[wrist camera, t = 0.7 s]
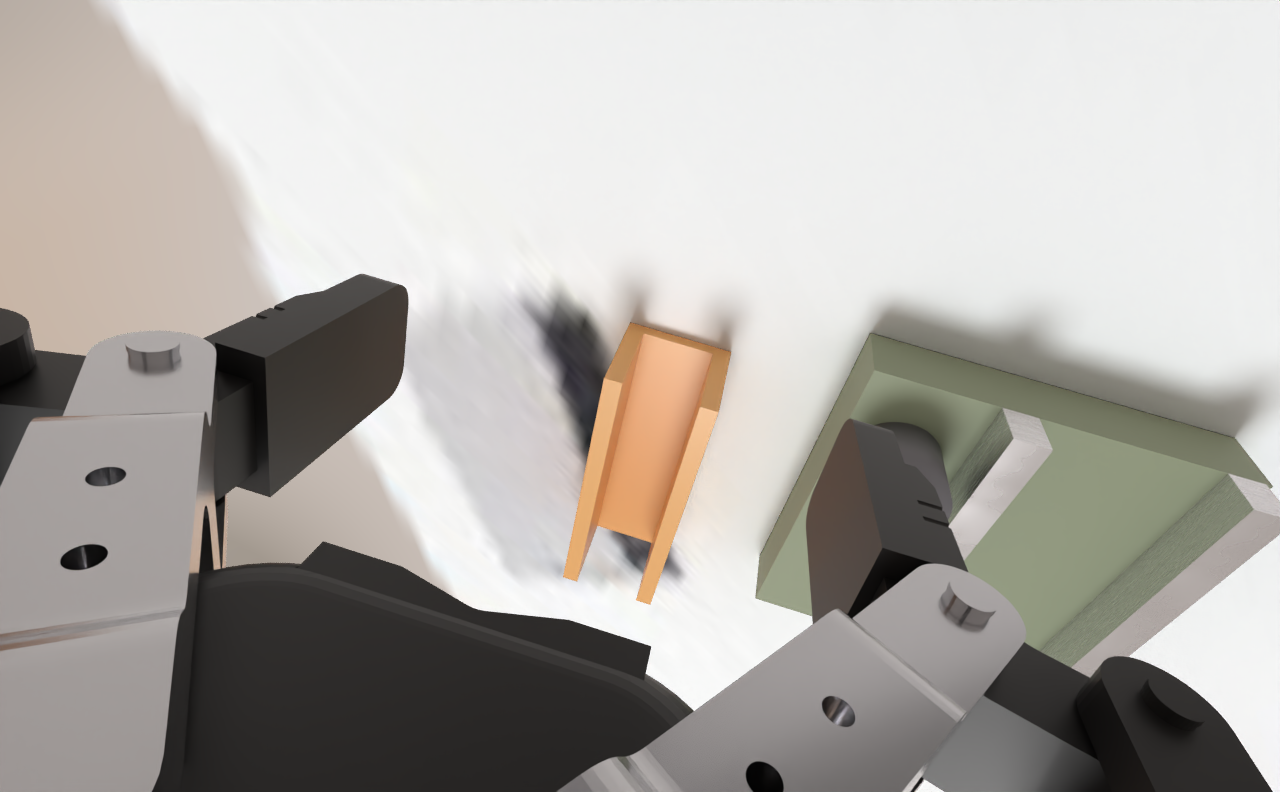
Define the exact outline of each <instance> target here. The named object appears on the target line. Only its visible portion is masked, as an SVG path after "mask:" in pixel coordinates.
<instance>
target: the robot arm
mask: <svg viewBox="0 0 1280 792" xmlns="http://www.w3.org/2000/svg"><path fill="white" fill-rule="evenodd" d="M407 315H408V293H407V290H406V288H405V287H404V286H402V285H399V284H396V283H392V282H389V281H386V280H382V279H379V278H375V277H372V276H369V275H365V274H359V275H356V276H354V277H352V278H350V279H348V280H346V281H344V282H342V283H340V284H337V285H335V286H333V287H331V288H329V289H327V290H325V291H321V292H315V293H310V294H304V295H299V296H295V297H293V298H291V299H289V300H286V301H284V302H282V303H280V304H278V305H275V307H274V309H273V308H269V309H267V310H264V311H262V312H260V313H258V314H257V315H256V317H253V316H251V317H249V318H247V319H245V320H243V321H240V322H238V323H236V324H234V325H232V326H229V327H227V328H225V329H223V330H221V331H218V332H216V333H214V334H212V335H210V336H207V337H205V338H203V339H202V338H200V337H198V336H194V335H191V334H186V333H181V332H172V331H143V332H133V333H127V334H122V335H118V336H114V337H111V338H108V339H106V340H103V341H101V342H99V343H98V344H96V345H94V346H93V347H92V348H91V349H90V350H89V352H88V353H87V355H86V356H81V355H72V354H64V353H55V352H48V351H38V350H35V349H34V344H33V339H32V334H31V330H30V325H29V322H28V321H27V319H26V318H25V317H23V316H22V315H20V314H18V313H16V312H13V311H10V310H6V309H2V308H0V792H916V791H917V790H918V788H919V787H920V786H921V784H922V783H923V782H924V780H927V781H928V782H930V783H932V784H933V785H935V786H936V787H938V788H940V789H941V790H943V791H944V792H1273V791H1272V790H1271V788H1270V787H1269V785H1268V784H1267V782H1266V781H1265V779H1264V778H1263V776H1262V775H1261V773H1260V771H1259V770H1258V768H1257V767H1256V765H1255V764H1254V762H1253V761H1252V759H1251V758H1250V756H1249V754H1248V753H1247V751H1246V750H1245V748H1244V747H1243V745H1242V744H1241V742H1240V741H1239V739H1238V738H1237V736H1236V734H1235V733H1234V731H1233V730H1232V729H1231V727H1230V726H1229V724H1228V723H1227V722H1226V721H1225V719H1224V718H1223V717H1222V716H1221V715H1220V714H1219V713H1218V711H1217V710H1216V709H1215V708H1214V707H1212V706H1211V705H1210V704H1209V703H1208V702H1207V701H1206V700H1205V699H1204V698H1203V697H1201V696H1200V695H1199V694H1198V693H1197V692H1195V691H1194V690H1193V689H1191V688H1190V687H1189V686H1187V685H1186V684H1185V683H1183V682H1182V681H1180V680H1179V679H1177V678H1176V677H1174V676H1172V675H1171V674H1169V673H1167V672H1165V671H1164V670H1162V669H1160V668H1157V667H1155V666H1153V665H1151V664H1149V663H1146V662H1144V661H1141V660H1138V659H1134V658H1130V657H1124V656H1113V657H1109V658H1107V659H1106V660H1104V661H1103V662H1102V664H1101V665H1100V666H1099V667H1098V669H1097V670H1096V671H1095V672H1094V673H1093V675H1092V676H1091V677H1088V676H1086V675H1084V674H1082V673H1080V672H1078V671H1076V670H1074V669H1073V668H1071V667H1069V666H1067V665H1065V664H1063V663H1061V662H1059V661H1057V660H1055V659H1053V658H1052V657H1050V656H1048V655H1046V654H1044V653H1042V652H1040V651H1038V650H1037V649H1035V648H1033V647H1031V646H1030V645H1028V644H1026V643H1025V642H1024V641H1025V639H1026V628H1025V625H1024V622H1023V620H1022V618H1021V616H1020V615H1019V613H1018V611H1017V610H1016V609H1015V608H1014V606H1013V605H1012V604H1011V603H1010V602H1009V601H1008V600H1007V599H1006V598H1005V597H1004V596H1003V595H1002V594H1001V593H1000V592H998V591H997V590H996V589H995V588H993V587H992V586H990V585H989V584H988V583H986V582H984V581H983V580H981V579H980V578H978V577H976V576H974V575H972V574H970V573H969V572H968V570H967V567H966V565H965V562H964V560H963V557H962V555H961V552H960V549H959V547H958V544H957V542H956V539H955V537H954V534H953V532H952V529H951V528H949V522H948V519H947V517H946V514H945V512H944V511H942V508H943V507H942V504H941V501H940V499H939V496H938V494H937V491H936V489H935V487H934V486H933V485H932V484H931V483H930V482H929V481H928V479H927V478H926V477H925V476H924V475H923V474H922V473H921V472H920V471H919V470H918V468H917V467H915V466H911V465H908V464H905V463H904V460H903V457H902V454H901V451H900V448H899V445H898V442H897V440H896V437H895V434H894V432H893V431H891V430H888V429H885V428H881V427H878V426H874V425H871V424H868V423H864V422H861V421H858V420H854V419H851V418H850V419H848V420H847V421H846V422H845V423H844V424H843V426H842V428H841V430H840V432H839V434H838V436H837V439H836V441H835V443H834V445H833V448H832V450H831V452H830V454H829V457H828V459H827V461H826V464H825V466H824V468H823V470H822V473H821V475H820V477H819V479H818V482H817V484H816V486H815V488H814V491H813V493H812V496H811V499H810V502H809V506H808V511H807V516H806V536H807V550H808V563H809V577H810V591H811V604H812V618H813V625H811V626H810V627H809V628H807V629H806V630H804V631H803V632H802V633H800V634H799V635H798V636H796V637H795V638H794V639H792V640H791V641H789V642H788V643H787V644H785V645H784V646H783V647H781V648H780V649H779V650H777V651H776V652H774V653H773V654H772V655H770V656H769V657H768V658H766V659H765V660H763V661H762V662H761V663H759V664H758V665H757V666H755V667H754V668H753V669H751V670H750V671H748V672H747V673H746V674H744V675H743V676H742V677H740V678H739V679H738V680H736V681H735V682H733V683H732V684H731V685H729V686H728V687H727V688H725V689H724V690H722V691H721V692H720V693H718V694H717V695H716V696H714V697H713V698H712V699H710V700H709V701H707V702H706V703H705V704H703V705H702V706H701V707H699V708H698V709H697V710H695V711H693V710H692V709H691V708H690V707H689V706H688V705H687V704H686V703H685V702H684V701H683V700H681V699H680V698H679V697H678V696H677V695H676V694H674V693H673V692H672V691H670V690H669V689H668V688H666V687H665V686H664V685H662V684H661V683H659V682H658V681H656V680H655V679H653V678H652V677H650V676H648V675H647V674H645V673H646V669H647V664H648V659H649V655H650V650H651V646H648V645H645V644H642V643H639V642H636V641H633V640H630V639H627V638H623V637H620V636H617V635H614V634H611V633H608V632H605V631H602V630H598V629H595V628H592V627H589V626H586V625H583V624H580V623H577V622H573V621H570V620H564V619H554V618H545V617H536V616H526V615H517V614H508V613H498V612H489V611H482V610H477V609H474V608H472V607H470V606H468V605H466V604H464V603H463V602H461V601H459V600H458V599H456V598H454V597H452V596H451V595H449V594H447V593H446V592H444V591H442V590H441V589H439V588H437V587H436V586H434V585H432V584H430V583H429V582H427V581H425V580H424V579H422V578H420V577H419V576H417V575H415V574H414V573H412V572H410V571H408V570H407V569H405V568H403V567H401V566H398V565H395V564H392V563H389V562H386V561H383V560H380V559H376V558H373V557H370V556H367V555H364V554H361V553H357V552H355V551H351V550H348V549H345V548H342V547H339V546H336V545H333V544H330V543H327V542H322V543H321V544H320V545H319V546H318V547H317V548H316V549H315V550H314V552H312V554H310V555H309V557H308V558H307V559H306V560H305V561H304V562H303V563H302V564H295V563H260V564H246V565H239V566H232V567H226V545H227V521H228V506H227V493H228V492H229V491H231V490H232V489H233V488H235V487H240V488H243V489H246V490H249V491H252V492H255V493H259V494H262V495H265V496H268V497H271V496H272V495H273V494H274V493H276V492H277V491H278V490H279V489H281V488H282V487H283V486H284V485H285V484H287V483H288V482H289V481H290V480H291V479H293V478H294V477H295V476H296V475H297V474H299V473H300V472H301V471H302V470H303V469H305V468H306V467H307V466H308V465H309V464H311V463H312V462H313V461H314V460H315V459H317V458H318V457H319V456H320V455H321V454H323V453H324V452H325V451H326V450H327V449H329V448H330V447H331V446H332V445H333V444H335V443H336V442H337V441H338V440H339V439H341V438H342V437H343V436H344V435H345V434H347V433H348V432H349V431H350V430H352V429H353V428H354V427H355V426H356V425H358V424H359V423H360V422H361V421H362V420H364V419H365V418H366V417H367V416H368V415H370V414H371V413H372V412H373V411H374V410H376V409H377V408H378V407H379V406H380V405H382V404H383V403H384V402H385V401H386V400H388V399H389V398H390V397H391V396H392V394H393V393H394V392H395V390H396V388H397V386H398V384H399V382H400V379H401V376H402V373H403V367H404V355H405V342H406V328H407Z"/></svg>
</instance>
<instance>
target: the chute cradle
mask: <svg viewBox="0 0 1280 792" xmlns="http://www.w3.org/2000/svg"><path fill="white" fill-rule="evenodd" d="M1052 451H1053V449H1052V447H1051V444H1050V442H1049V440H1048V437H1047V435H1046V433H1045V430H1044V428H1043V426H1042V423H1041V421H1040V419H1039V418H1037V417H1033V416H1030V415H1026V414H1023V413H1019V412H1016V411H1013V410H1009V409H1006V408H1002V409H1001V410H1000V412H999V413H998V414H997V416H996V417H995V419H994V420H993V421H992V423H991V424H990V426H989V427H988V429H987V430H986V431H985V433H984V434H983V436H982V437H981V439H980V440H979V441H978V443H977V444H976V446H975V447H974V448H973V450H972V451H971V453H970V454H969V456H968V457H967V458H966V460H965V461H964V463H963V464H962V466H961V467H960V468H959V470H958V471H957V473H956V474H955V475H954V477H953V478H952V480H951V481H950V483H949V488H950V492H951V497H952V502H953V508H952V513H951V515H950V517H949V519H948V522H949V528H951V529H952V532H953V534H954V537H955V539H956V542H957V544H958V547H959V549H960V552H961V555H962V557H963V560H965V559H966V558H967V556H968V555H969V554H970V553H971V551H972V550H973V549H974V548H975V546H976V545H977V544H978V543H979V541H980V540H981V539H982V538H983V536H984V535H985V534H986V533H987V532H988V530H989V529H990V528H991V527H992V525H993V524H994V523H995V522H996V520H997V519H998V518H999V517H1000V515H1001V514H1002V513H1003V512H1004V511H1005V509H1006V508H1007V507H1008V506H1009V504H1010V503H1011V502H1012V501H1013V499H1014V498H1015V497H1016V496H1017V494H1018V493H1019V492H1020V491H1021V489H1022V488H1023V487H1024V486H1025V485H1026V483H1027V482H1028V481H1029V480H1030V478H1031V477H1032V476H1033V475H1034V473H1035V472H1036V471H1037V470H1038V468H1039V467H1040V466H1041V465H1042V464H1043V462H1044V461H1045V460H1046V459H1047V457H1048V456H1049V455H1050V454H1051V452H1052ZM1279 534H1280V501H1279V500H1278V499H1277V497H1276V496H1275V495H1274V494H1273V492H1272V491H1271V490H1270V488H1269V487H1268V486H1267V485H1266V484H1263V483H1259V482H1256V481H1252V480H1249V479H1246V478H1242V477H1239V476H1235V475H1232V474H1227V475H1226V476H1225V477H1224V478H1223V479H1222V480H1220V481H1219V482H1218V483H1217V484H1216V485H1215V486H1214V487H1213V488H1212V489H1211V490H1210V491H1209V492H1208V493H1207V494H1206V495H1204V496H1203V497H1202V498H1201V499H1200V500H1199V501H1198V502H1197V503H1196V504H1195V505H1194V506H1193V507H1192V508H1191V509H1190V510H1188V511H1187V512H1186V513H1185V514H1184V515H1183V516H1182V517H1181V518H1180V519H1179V520H1178V521H1177V522H1176V523H1175V524H1173V525H1172V526H1171V527H1170V528H1169V529H1168V530H1167V531H1166V532H1165V533H1164V534H1163V535H1162V536H1161V537H1160V538H1159V539H1157V540H1156V541H1155V542H1154V543H1153V544H1152V545H1151V546H1150V547H1149V548H1148V549H1147V550H1146V551H1145V552H1144V553H1143V554H1141V555H1140V556H1139V557H1138V558H1137V559H1136V560H1135V561H1134V562H1133V563H1132V564H1131V565H1130V566H1129V567H1128V568H1127V569H1125V570H1124V571H1123V572H1122V573H1121V574H1120V575H1119V576H1118V577H1117V578H1116V579H1115V580H1114V581H1113V582H1112V583H1110V584H1109V585H1108V586H1107V587H1106V588H1105V589H1104V590H1103V591H1102V592H1101V593H1100V594H1099V595H1098V596H1097V597H1096V598H1094V599H1093V600H1092V601H1091V602H1090V603H1089V604H1088V605H1087V606H1086V607H1085V608H1084V609H1083V610H1082V611H1081V612H1080V613H1078V614H1077V615H1076V616H1075V617H1074V618H1073V619H1072V620H1071V621H1070V622H1069V623H1068V624H1067V625H1066V626H1065V627H1064V628H1062V629H1061V630H1060V631H1059V632H1058V633H1057V634H1056V635H1055V636H1054V637H1053V638H1052V639H1051V640H1050V641H1049V642H1047V643H1046V644H1045V645H1044V646H1043V647H1042V648H1041V649H1040V650H1039V651H1040V652H1042V653H1044V654H1046V655H1048V656H1050V657H1052V658H1053V659H1055V660H1057V661H1059V662H1061V663H1063V664H1065V665H1067V666H1069V667H1071V668H1073V669H1074V670H1076V671H1078V672H1080V673H1082V674H1084V675H1086V676H1088V677H1091V676H1092V675H1093V673H1094V672H1095V671H1096V670H1097V669H1098V667H1099V666H1100V665H1101V664H1102V662H1103V661H1104V660H1106V659H1107V658H1109V657H1113V656H1124V657H1128V656H1130V655H1131V654H1132V653H1133V652H1135V651H1136V650H1137V649H1138V648H1139V647H1141V646H1142V645H1143V644H1144V643H1146V642H1147V641H1148V640H1149V639H1151V638H1152V637H1153V636H1154V635H1156V634H1157V633H1158V632H1159V631H1161V630H1162V629H1163V628H1164V627H1165V626H1167V625H1168V624H1169V623H1170V622H1172V621H1173V620H1174V619H1175V618H1177V617H1178V616H1179V615H1180V614H1182V613H1183V612H1184V611H1185V610H1187V609H1188V608H1189V607H1190V606H1191V605H1193V604H1194V603H1195V602H1196V601H1198V600H1199V599H1200V598H1201V597H1203V596H1204V595H1205V594H1206V593H1208V592H1209V591H1210V590H1211V589H1213V588H1214V587H1215V586H1216V585H1217V584H1219V583H1220V582H1221V581H1222V580H1224V579H1225V578H1226V577H1227V576H1229V575H1230V574H1231V573H1232V572H1234V571H1235V570H1236V569H1237V568H1239V567H1240V566H1241V565H1242V564H1243V563H1245V562H1246V561H1247V560H1248V559H1250V558H1251V557H1252V556H1253V555H1255V554H1256V553H1257V552H1258V551H1260V550H1261V549H1262V548H1263V547H1264V546H1266V545H1267V544H1268V543H1269V542H1271V541H1272V540H1273V539H1274V538H1276V537H1277V536H1278V535H1279Z"/></svg>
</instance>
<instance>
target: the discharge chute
mask: <svg viewBox="0 0 1280 792" xmlns="http://www.w3.org/2000/svg"><path fill="white" fill-rule="evenodd" d="M730 355H731V352H729V351H726V350H723V349H719V348H716V347H712V346H709V345H706V344H702V343H699V342H695V341H692V340H689V339H685V338H682V337H678V336H675V335H672V334H668V333H665V332H661V331H658V330H655V329H651V328H648V327H644V326H641V325H637V324H634V323H631V322H630V324H629V326H628V329H627V331H626V333H625V335H624V337H623V339H622V341H621V343H620V346H619V348H618V350H617V352H616V354H615V356H614V358H613V360H612V363H611V365H610V367H609V369H608V371H607V373H606V375H605V377H604V381H603V386H602V391H601V396H600V401H599V406H598V410H597V415H596V420H595V425H594V430H593V435H592V440H591V444H590V449H589V454H588V459H587V464H586V469H585V474H584V478H583V483H582V488H581V493H580V498H579V503H578V508H577V512H576V517H575V522H574V527H573V532H572V537H571V541H570V546H569V551H568V556H567V561H566V566H565V571H564V575H563V577H565V578H568V579H571V580H574V581H577V580H578V577H579V575H580V572H581V569H582V566H583V564H584V561H585V558H586V556H587V553H588V550H589V547H590V545H591V542H592V539H593V537H594V534H595V531H596V528H597V526H600V527H603V528H607V529H610V530H613V531H616V532H619V533H623V534H626V535H629V536H632V537H635V538H639V539H642V540H645V541H648V542H651V547H650V551H649V555H648V558H647V562H646V566H645V569H644V573H643V577H642V580H641V584H640V588H639V591H638V595H637V599H636V600H637V601H640V602H643V603H647V604H650V603H651V601H652V598H653V595H654V592H655V589H656V587H657V584H658V581H659V578H660V575H661V573H662V570H663V567H664V564H665V561H666V559H667V556H668V553H669V550H670V547H671V545H672V542H673V539H674V536H675V533H676V531H677V528H678V525H679V522H680V519H681V516H682V514H683V511H684V508H685V505H686V502H687V500H688V497H689V494H690V491H691V488H692V486H693V483H694V480H695V477H696V474H697V472H698V469H699V466H700V463H701V460H702V458H703V455H704V452H705V449H706V446H707V444H708V441H709V438H710V435H711V432H712V429H713V427H714V424H715V421H716V418H717V415H718V413H719V408H720V403H721V398H722V394H723V389H724V384H725V379H726V374H727V370H728V365H729V360H730Z"/></svg>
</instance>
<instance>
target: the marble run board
mask: <svg viewBox="0 0 1280 792" xmlns="http://www.w3.org/2000/svg"><path fill="white" fill-rule="evenodd" d="M1002 408H1006V409H1009V410H1013V411H1016V412H1019V413H1023V414H1026V415H1030V416H1033V417H1037V418H1039V419H1040V421H1041V423H1042V426H1043V428H1044V430H1045V433H1046V435H1047V437H1048V440H1049V442H1050V444H1051V447H1052V449H1053V451H1052V452H1051V454H1050V455H1049V456H1048V457H1047V459H1046V460H1045V461H1044V462H1043V464H1042V465H1041V466H1040V467H1039V468H1038V470H1037V471H1036V472H1035V473H1034V475H1033V476H1032V477H1031V478H1030V480H1029V481H1028V482H1027V483H1026V485H1025V486H1024V487H1023V488H1022V489H1021V491H1020V492H1019V493H1018V494H1017V496H1016V497H1015V498H1014V499H1013V501H1012V502H1011V503H1010V504H1009V506H1008V507H1007V508H1006V509H1005V511H1004V512H1003V513H1002V514H1001V515H1000V517H999V518H998V519H997V520H996V522H995V523H994V524H993V525H992V527H991V528H990V529H989V530H988V532H987V533H986V534H985V535H984V536H983V538H982V539H981V540H980V541H979V543H978V544H977V545H976V546H975V548H974V549H973V550H972V551H971V553H970V554H969V555H968V556H967V558H966V559H965V560H964V562H965V565H966V567H967V570H968V572H969V573H970V574H972V575H974V576H976V577H978V578H980V579H981V580H983V581H984V582H986V583H988V584H989V585H990V586H992V587H993V588H995V589H996V590H997V591H998V592H1000V593H1001V594H1002V595H1003V596H1004V597H1005V598H1006V599H1007V600H1008V601H1009V602H1010V603H1011V604H1012V605H1013V606H1014V608H1015V609H1016V610H1017V611H1018V613H1019V615H1020V616H1021V618H1022V620H1023V622H1024V625H1025V628H1026V639H1025V641H1024V642H1025V643H1026V644H1028V645H1030V646H1031V647H1033V648H1035V649H1037V650H1038V651H1039V650H1040V649H1041V648H1042V647H1043V646H1044V645H1045V644H1046V643H1047V642H1049V641H1050V640H1051V639H1052V638H1053V637H1054V636H1055V635H1056V634H1057V633H1058V632H1059V631H1060V630H1061V629H1062V628H1064V627H1065V626H1066V625H1067V624H1068V623H1069V622H1070V621H1071V620H1072V619H1073V618H1074V617H1075V616H1076V615H1077V614H1078V613H1080V612H1081V611H1082V610H1083V609H1084V608H1085V607H1086V606H1087V605H1088V604H1089V603H1090V602H1091V601H1092V600H1093V599H1094V598H1096V597H1097V596H1098V595H1099V594H1100V593H1101V592H1102V591H1103V590H1104V589H1105V588H1106V587H1107V586H1108V585H1109V584H1110V583H1112V582H1113V581H1114V580H1115V579H1116V578H1117V577H1118V576H1119V575H1120V574H1121V573H1122V572H1123V571H1124V570H1125V569H1127V568H1128V567H1129V566H1130V565H1131V564H1132V563H1133V562H1134V561H1135V560H1136V559H1137V558H1138V557H1139V556H1140V555H1141V554H1143V553H1144V552H1145V551H1146V550H1147V549H1148V548H1149V547H1150V546H1151V545H1152V544H1153V543H1154V542H1155V541H1156V540H1157V539H1159V538H1160V537H1161V536H1162V535H1163V534H1164V533H1165V532H1166V531H1167V530H1168V529H1169V528H1170V527H1171V526H1172V525H1173V524H1175V523H1176V522H1177V521H1178V520H1179V519H1180V518H1181V517H1182V516H1183V515H1184V514H1185V513H1186V512H1187V511H1188V510H1190V509H1191V508H1192V507H1193V506H1194V505H1195V504H1196V503H1197V502H1198V501H1199V500H1200V499H1201V498H1202V497H1203V496H1204V495H1206V494H1207V493H1208V492H1209V491H1210V490H1211V489H1212V488H1213V487H1214V486H1215V485H1216V484H1217V483H1218V482H1219V481H1220V480H1222V479H1223V478H1224V477H1225V476H1226V475H1227V474H1232V475H1235V476H1239V477H1242V478H1246V479H1249V480H1252V481H1256V482H1259V483H1263V484H1266V485H1267V486H1268V487H1269V488H1270V489H1271V488H1272V487H1273V486H1272V485H1271V483H1270V482H1269V481H1268V480H1267V478H1266V477H1265V476H1264V474H1263V473H1262V472H1261V471H1260V469H1259V468H1258V467H1257V465H1256V464H1255V463H1254V462H1253V460H1252V459H1251V458H1250V457H1249V455H1248V454H1247V453H1246V451H1245V450H1244V449H1243V448H1242V446H1241V445H1240V444H1239V443H1238V441H1237V440H1236V439H1235V438H1232V437H1228V436H1225V435H1221V434H1218V433H1215V432H1211V431H1208V430H1204V429H1201V428H1197V427H1194V426H1190V425H1187V424H1183V423H1180V422H1176V421H1173V420H1170V419H1166V418H1163V417H1159V416H1156V415H1152V414H1149V413H1145V412H1142V411H1138V410H1135V409H1131V408H1128V407H1124V406H1121V405H1118V404H1114V403H1111V402H1107V401H1104V400H1100V399H1097V398H1093V397H1090V396H1086V395H1083V394H1079V393H1076V392H1073V391H1069V390H1066V389H1062V388H1059V387H1055V386H1052V385H1048V384H1045V383H1041V382H1038V381H1034V380H1031V379H1028V378H1024V377H1021V376H1017V375H1014V374H1010V373H1007V372H1003V371H1000V370H996V369H993V368H989V367H986V366H982V365H979V364H976V363H972V362H969V361H965V360H962V359H958V358H955V357H951V356H948V355H944V354H941V353H937V352H934V351H931V350H927V349H924V348H920V347H917V346H913V345H910V344H906V343H903V342H899V341H896V340H892V339H889V338H886V337H882V336H879V335H875V334H872V333H870V335H869V337H868V339H867V341H866V343H865V345H864V347H863V349H862V351H861V353H860V355H859V357H858V359H857V361H856V363H855V365H854V367H853V369H852V371H851V373H850V375H849V377H848V379H847V381H846V383H845V385H844V387H843V389H842V391H841V393H840V395H839V397H838V399H837V401H836V403H835V405H834V407H833V409H832V411H831V413H830V415H829V417H828V419H827V421H826V423H825V426H824V428H823V430H822V432H821V434H820V436H819V438H818V440H817V442H816V444H815V446H814V448H813V450H812V452H811V454H810V456H809V458H808V460H807V462H806V464H805V466H804V468H803V470H802V472H801V474H800V476H799V478H798V480H797V482H796V484H795V486H794V488H793V490H792V492H791V494H790V496H789V498H788V500H787V502H786V504H785V506H784V508H783V510H782V512H781V514H780V516H779V518H778V520H777V522H776V524H775V526H774V528H773V530H772V532H771V534H770V536H769V539H768V541H767V543H766V545H765V547H764V549H763V551H762V553H761V555H760V557H759V567H758V577H757V587H756V597H755V598H756V599H759V600H762V601H766V602H769V603H772V604H775V605H778V606H782V607H785V608H788V609H791V610H794V611H797V612H801V613H804V614H807V615H810V616H812V604H811V591H810V577H809V563H808V550H807V536H806V516H807V511H808V506H809V502H810V499H811V496H812V493H813V491H814V488H815V486H816V484H817V482H818V479H819V477H820V475H821V473H822V470H823V468H824V466H825V464H826V461H827V459H828V457H829V454H830V452H831V450H832V448H833V445H834V443H835V441H836V439H837V436H838V434H839V432H840V430H841V428H842V426H843V424H844V423H845V422H846V421H847V420H848V419H850V418H851V419H854V420H858V421H861V422H864V423H868V424H871V425H874V426H878V427H881V428H885V429H888V430H891V431H893V432H894V434H895V437H896V440H897V442H898V445H899V448H900V451H901V454H902V457H903V460H904V463H905V464H908V465H911V466H915V467H917V468H918V470H919V471H920V472H921V473H922V474H923V475H924V476H925V477H926V478H927V479H928V481H929V482H930V483H931V484H932V485H933V486H934V487H935V489H936V491H937V494H938V496H939V499H940V501H941V504H942V507H943V508H942V511H944V512H945V514H946V517H947V519H949V517H950V515H951V513H952V508H953V502H952V497H951V492H950V488H949V483H950V481H951V480H952V478H953V477H954V475H955V474H956V473H957V471H958V470H959V468H960V467H961V466H962V464H963V463H964V461H965V460H966V458H967V457H968V456H969V454H970V453H971V451H972V450H973V448H974V447H975V446H976V444H977V443H978V441H979V440H980V439H981V437H982V436H983V434H984V433H985V431H986V430H987V429H988V427H989V426H990V424H991V423H992V421H993V420H994V419H995V417H996V416H997V414H998V413H999V412H1000V410H1001V409H1002Z"/></svg>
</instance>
